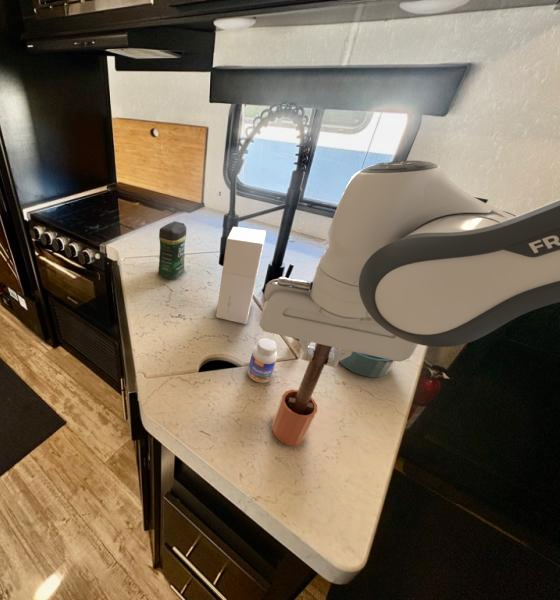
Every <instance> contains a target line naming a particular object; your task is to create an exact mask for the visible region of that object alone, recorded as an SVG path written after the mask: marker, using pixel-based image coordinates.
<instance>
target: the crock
mask: <svg viewBox="0 0 560 600" xmlns="http://www.w3.org/2000/svg"><path fill="white" fill-rule="evenodd" d="M298 390H299V389H289V390H286V391H285V392H284V393H282V395H281V399H280V400H279V403H278V405H277V409H276V412H275V415H274V418H273V421H272V424H271V431H272V433H273V435H274V437H275V438H276V439H277V440H278V441H279V442H281V443H282V444H285V445H287V446H291V447H292V446H299V445H300V444H302V443H303V441H304V439H305V438H306V436H307V434H308V431H309V430H310V427H311V425H312V423H313V421H314V419H315V417H316V415H317V413H318V404H317V402H316V400H315V399H314V398H313V397H312V396H311V398H310V400H309V403H312V404H313V409H312V411H311V413H310V414H309V415H299V414H297V413H295V412H293V411H291V410H290V409H289V408H288V407H287V403H288V400H289V397H291V398H294V399H295V398H296V395H297V393H298Z"/></svg>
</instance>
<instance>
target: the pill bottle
mask: <svg viewBox="0 0 560 600" xmlns="http://www.w3.org/2000/svg"><path fill="white" fill-rule="evenodd" d="M277 349H278V344H277V343H276V342H275V341H274V340H273V339H271V338H266V337H264V338H261V339H259V340H258V342H257V345H255V346H254V347H253V349H252V352H251V356H250V359H249V365H248V368H247V374H248V377H249V378H250V379H252V380H253V381H254V382H257V383H261V384H262V383H267V382H269V381H270V379H271V378H272V375H273V372H274V370H275V366H276V364H277V360H278V353H277Z"/></svg>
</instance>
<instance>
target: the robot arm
mask: <svg viewBox="0 0 560 600" xmlns="http://www.w3.org/2000/svg"><path fill="white" fill-rule="evenodd" d="M347 183H348V184H347V185H346V186H345V188H344V190H343V193H342V195H341V197H340V199H339V202H338V204H337V207H336V210H335V212H334V214H333V217H332V220H331V222H330V226H329V228H328V231H327V245H326V248H325V250H324V252H323V254H321V256H320V257H319V260H318V263H317V265H316V269H315V271H314V275H313V278H312V281H307V280H300V279H291V278H288V277H284V276H283V277H281V276H280V277H278V278H275V279H272V280H270V281H268V282H267V283H265V287H264V292H263V298H264V300H265V302H264V305H263V308H262V311H261V313H260V314H261V315H260V319H259V327H260V328H261V330H262V331H263V332H265V333H270V334H273V335H278V336H283V337H287V338H292V339H295V340H299V346H300V348H301V349H302V350H301V355H300V358H301V360H302V361H307V362H309V361H310V362H311V361H312V358H313V356H314V352H313V351H314V348H315V347H313V346H310V344H311V343H314V344H316V343H318V344H322V345H327V346H331V347H332V348H334V347H336V348H339V349H337V350H336V351H334V350H333V351H330V354H329V356H328V358H327V361H326V363H325V365H324V366H328V367H331V368H337V366H338V364H339V363H340V362H339V361H341V360H343V359H345V358H347V357H349V356H351V354H352V352H358V353H362V354H367V355H371V356H376V357H380V358H384V359H389V360H393V361H395V362H399V363H400V362H403V361H405V360H408V359H410V358H411V357H412V356H413V354H414V352H415V351H416V349H417V347H418V345H420V346H425V347H431V348H450V347H457V346H462V345H466V344H469V343H472V342H474V341H477V340H479V339H481V338H483V337H485V336H487V335H489V334H490V333H492V332H494V331H496V330H497V329H499V328H500V327H503V326H504V325H506V324H507V323H509V322H511V321H512V320H514V319H516V318H519V317H520V316H522V315H525V314H528V313H530V312H532V311H535V310H537V309H540V308H543V307H546V306H549V305H553V304H557V303H560V198H557V199H555V200H553V201H550V202H548V203H545V204H543V205H540V206H538V207H535V208H533V209H530V210H527V211H525V212H523V213H520V214H518V215H515V214H513V213H511V212H508V211H506V210H501V209H499V208H497V207H495V206H492V205H490V204H489V203H486V202H485V201H482V200H480V199H479V198H476V197H475V196H473V195H471V194H470V193H468V192H466V191H465V190H463V189H462V188H461V187H459V186H458V185H457V184H456V183H455V182H453V180H451V179H450V178H449V177H448V176H447V175H446V173H445V172H444V170H443V168H442V167H441V166H440V165H439V164H437V163H434V162H432V161H426V160H425V161H424V160H396V161H393V160H392V161H388V162H380V163H376V164H372V165H370V166H367V167H365V168H364V167H363V168H362V169H360V170H359V171H357V172H356V173H354V174H353V176H351V178H350V180H349V182H347Z"/></svg>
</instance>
